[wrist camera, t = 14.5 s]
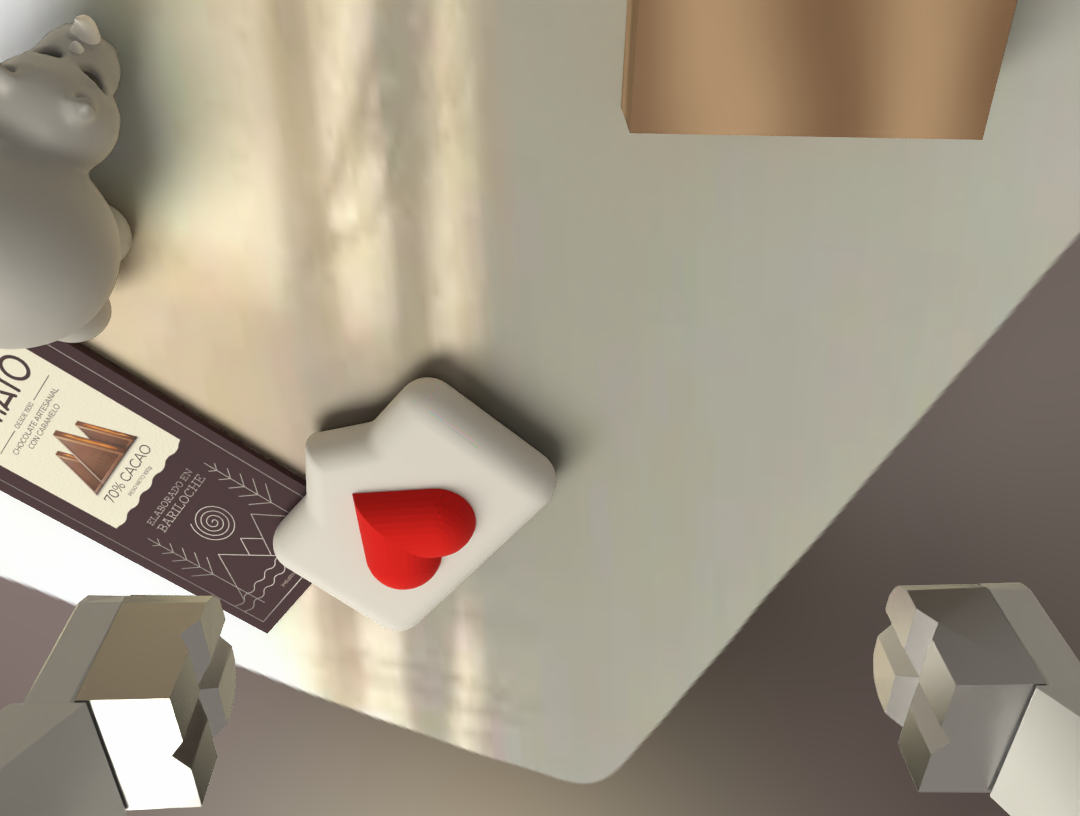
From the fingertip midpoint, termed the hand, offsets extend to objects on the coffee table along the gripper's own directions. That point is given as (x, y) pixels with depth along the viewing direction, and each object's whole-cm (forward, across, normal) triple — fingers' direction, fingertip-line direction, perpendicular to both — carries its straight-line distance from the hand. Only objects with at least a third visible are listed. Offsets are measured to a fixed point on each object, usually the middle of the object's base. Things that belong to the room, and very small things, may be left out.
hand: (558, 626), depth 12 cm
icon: (+28, +6, +18) cm, 34 cm away
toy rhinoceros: (+28, +17, +3) cm, 33 cm away
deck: (+28, -10, -4) cm, 30 cm away
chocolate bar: (+28, +17, +18) cm, 38 cm away
